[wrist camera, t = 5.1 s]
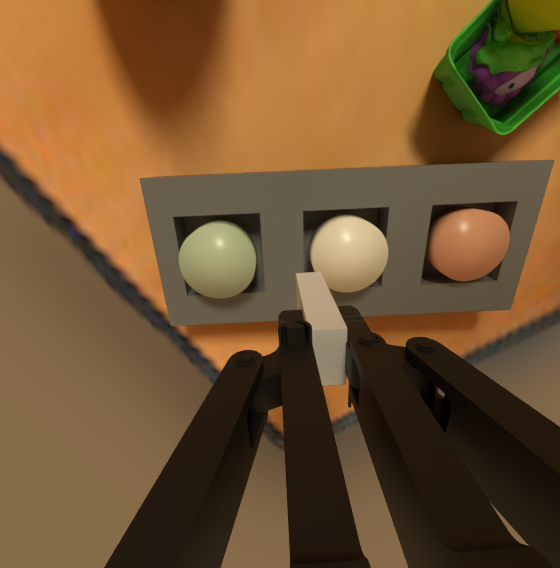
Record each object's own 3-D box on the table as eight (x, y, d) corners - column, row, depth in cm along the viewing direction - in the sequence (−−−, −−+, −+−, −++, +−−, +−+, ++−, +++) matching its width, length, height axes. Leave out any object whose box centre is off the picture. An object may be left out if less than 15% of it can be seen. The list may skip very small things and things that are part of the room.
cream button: (308, 215, 24) (312, 221, 22) (380, 212, 24) (391, 217, 22) (308, 282, 26) (312, 294, 24) (374, 279, 26) (384, 290, 24)
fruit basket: (459, 146, 26) (590, 132, 15) (400, 60, 23) (507, -29, 13) (585, 32, 23) (853, -83, 12) (532, -81, 20) (813, -348, 10)
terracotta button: (427, 208, 25) (443, 212, 23) (495, 205, 25) (518, 209, 23) (417, 272, 27) (431, 282, 25) (480, 269, 27) (499, 279, 25)
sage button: (182, 221, 24) (172, 227, 22) (254, 218, 24) (252, 224, 22) (193, 288, 26) (185, 300, 24) (259, 285, 26) (258, 296, 24)
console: (158, 176, 26) (139, 178, 22) (514, 160, 26) (554, 159, 22) (183, 306, 31) (170, 326, 27) (482, 292, 31) (510, 309, 27)
